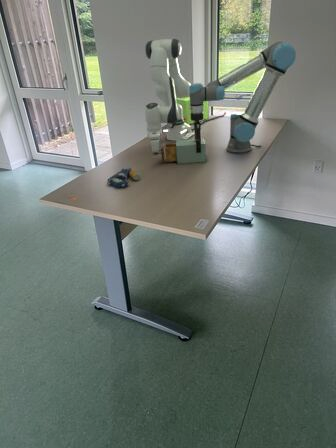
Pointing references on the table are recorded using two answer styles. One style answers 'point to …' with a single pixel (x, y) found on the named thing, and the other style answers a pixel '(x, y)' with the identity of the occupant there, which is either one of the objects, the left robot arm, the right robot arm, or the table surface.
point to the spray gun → (123, 177)
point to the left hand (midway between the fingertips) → (156, 154)
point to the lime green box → (186, 111)
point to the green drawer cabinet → (190, 151)
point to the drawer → (168, 152)
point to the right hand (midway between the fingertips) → (198, 149)
